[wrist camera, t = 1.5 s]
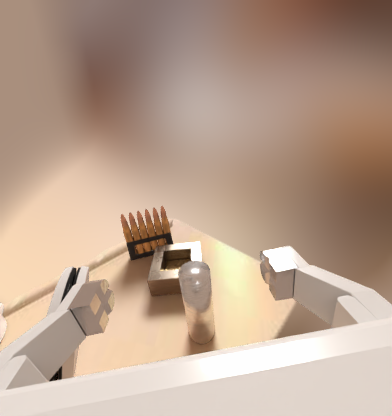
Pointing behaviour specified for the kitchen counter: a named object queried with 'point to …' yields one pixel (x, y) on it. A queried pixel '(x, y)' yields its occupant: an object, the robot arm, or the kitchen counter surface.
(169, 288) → the square nut block
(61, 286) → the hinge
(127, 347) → the kitchen counter surface
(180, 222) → the kitchen counter surface
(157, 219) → the ammunition clip
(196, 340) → the pin
